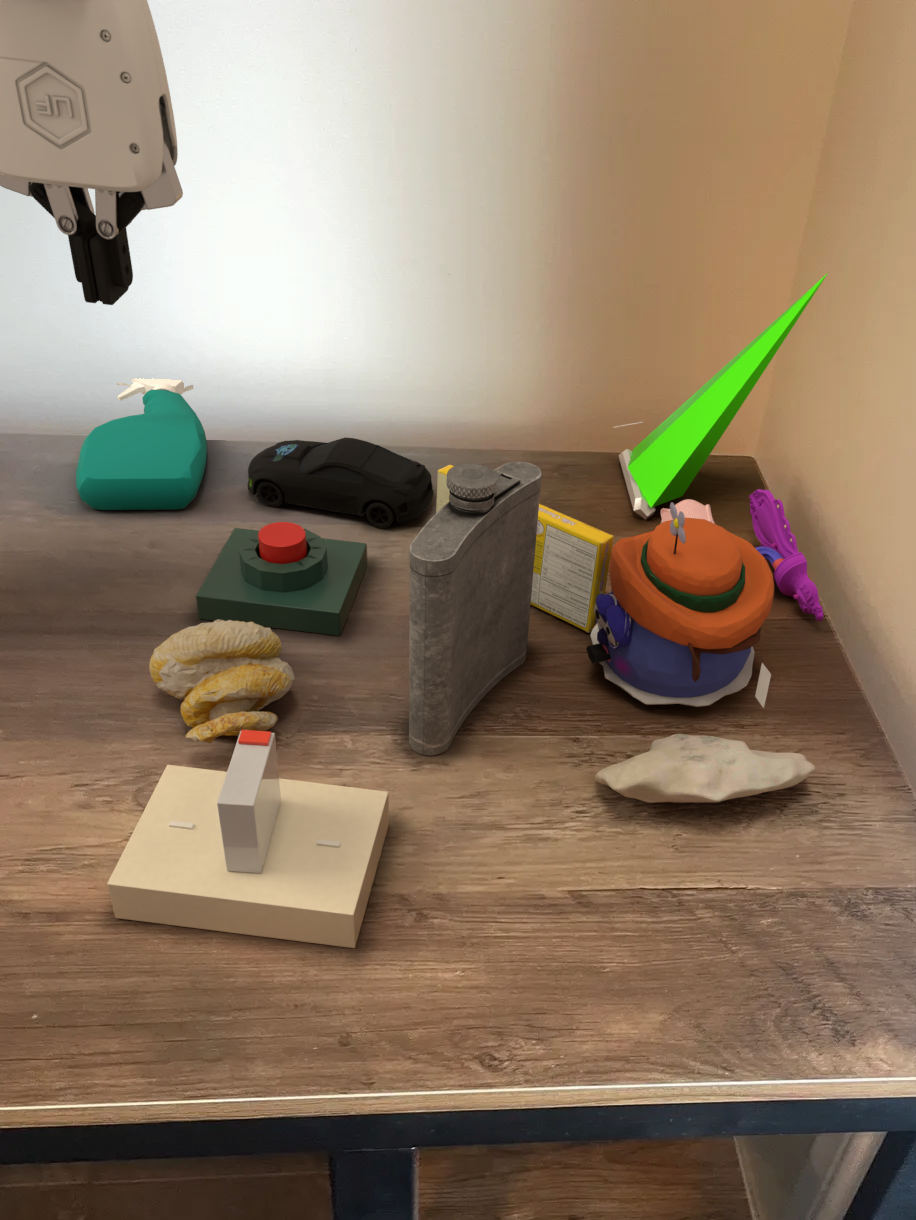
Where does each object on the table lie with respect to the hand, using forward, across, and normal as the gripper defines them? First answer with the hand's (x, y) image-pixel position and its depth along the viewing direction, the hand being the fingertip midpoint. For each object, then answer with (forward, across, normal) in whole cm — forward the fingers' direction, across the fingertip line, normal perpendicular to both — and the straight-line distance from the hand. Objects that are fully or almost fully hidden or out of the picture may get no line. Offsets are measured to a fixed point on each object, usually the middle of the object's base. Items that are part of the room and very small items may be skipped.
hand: (107, 295), depth 72 cm
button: (+22, +8, +6) cm, 24 cm away
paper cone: (+4, +50, +31) cm, 59 cm away
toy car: (+25, +9, +21) cm, 34 cm away
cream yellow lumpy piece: (+25, +7, -8) cm, 27 cm away
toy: (+25, +38, +3) cm, 46 cm away
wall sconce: (+25, +48, +3) cm, 54 cm away
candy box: (+25, +26, +10) cm, 38 cm away
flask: (+25, +24, -4) cm, 35 cm away
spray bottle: (+24, -7, +15) cm, 29 cm away
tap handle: (+22, +14, -23) cm, 35 cm away
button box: (+25, +8, +6) cm, 27 cm away
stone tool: (+23, +34, -14) cm, 43 cm away
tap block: (+25, +14, -23) cm, 37 cm away
